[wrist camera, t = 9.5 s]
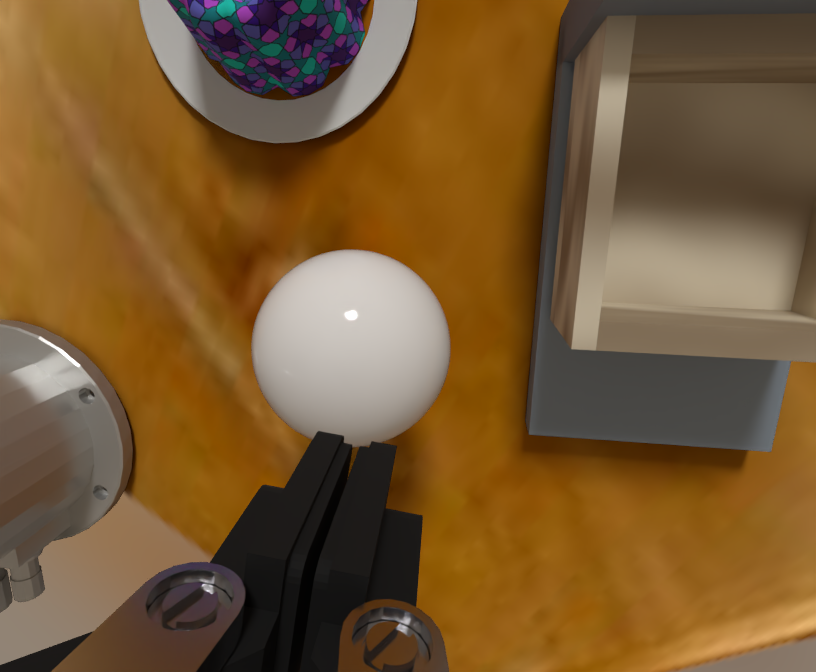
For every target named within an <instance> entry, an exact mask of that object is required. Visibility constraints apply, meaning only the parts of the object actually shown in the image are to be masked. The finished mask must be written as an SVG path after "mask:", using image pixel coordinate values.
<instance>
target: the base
mask: <svg viewBox="0 0 816 672" xmlns="http://www.w3.org/2000/svg"><path fill="white" fill-rule="evenodd" d="M795 13H816V0H569V2H568V4H567V7H566V9H565V11H564V13H563V15H562V17H561V25H560V36H559V47H558V59H557V70H556V81H555V93H554V104H553V115H552V127H551V138H550V149H549V160H548V172H547V183H546V194H545V206H544V217H543V228H542V240H541V251H540V262H539V273H538V285H537V296H536V307H535V319H534V330H533V341H532V353H531V364H530V375H529V386H528V398H527V409H526V420H525V422H526V425H527V429H528V433H529V435H542V436H556V437H570V438H584V439H598V440H612V441H626V442H640V443H654V444H669V445H683V446H697V447H711V448H725V449H739V450H753V451H767V452H771V449H772V445H773V440H774V436H775V431H776V427H777V422H778V417H779V413H780V408H781V404H782V399H783V395H784V390H785V386H786V381H787V377H788V372H789V368H790V363H791V361H782V360H764V359H745V358H726V357H708V356H689V355H671V354H652V353H633V352H615V351H596V350H577V349H571V348H570V347H569V345H568V344H567V342H566V341H565V340H564V338H563V337H562V335H561V334H560V333H559V331H558V330H557V328H556V327H555V325H554V324H553V323H552V321H551V320H550V315H551V305H552V294H553V284H554V273H555V263H556V253H557V242H558V232H559V222H560V211H561V201H562V190H563V180H564V170H565V159H566V149H567V138H568V128H569V118H570V107H571V97H572V87H573V76H574V66H575V59H576V58H577V57H578V55H579V54H580V53H581V51H582V50H583V49H584V47H585V46H586V44H587V43H588V42H589V40H590V39H591V38H592V36H593V35H594V34H595V32H596V31H597V29H598V28H599V27H600V25H601V24H602V23H603V21H604V20H605V19H606V17H607V16H631V15H713V14H795Z"/></svg>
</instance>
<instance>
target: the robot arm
mask: <svg viewBox="0 0 816 672" xmlns="http://www.w3.org/2000/svg"><path fill="white" fill-rule="evenodd" d="M396 448H397V446H394V445H389V444H384V443H379V442H374V441H371V444H370V447H369V448H368V447H363V446H360V447H359V450H358V453H357V456H356V458H355V461H354V464H353V467H352V469H351V472H350V475H349V477H348V472H349V466H350V460H351V454H352V444H347V443H344V436H343V435H337V434H332V433H327V432H322V431H318V432H317V433H316V435H315V436H314V438H313V440H312V442H311V443H310V445H309V447H308V448H307V450H306V452H305V454H304V455H303V457H302V459H301V460H300V462H299V464H298V466H297V467H296V469H295V471H294V472H293V474H292V476H291V478H290V479H289V481H288V483H287V484H286V486H285V488H279V487H274V486H269V485H262V486H261V488H260V489H259V490H258V492H257V493H256V495H255V496H254V498H253V499H252V500H251V502H250V503H249V505H248V506H247V508H246V509H245V511H244V512H243V514H242V515H241V517H240V518H239V520H238V521H237V523H236V524H235V526H234V527H233V529H232V530H231V532H230V533H229V535H228V536H227V538H226V539H225V541H224V542H223V544H222V545H221V547H220V548H219V550H218V551H217V553H216V554H215V556H214V557H213V559H212V560H211V562H210V563H208V562H191V563H186V564H182V565H177V566H173V567H171V568H169V569H166V570H164V571H162V572H159V573H158V574H156V575H155V576H154V577H152V578H151V579H150V580H148V581H147V582H146V583H145V584H143V586H141V587H140V588H139V589H138V590H137V591H136V592H135V593H134V594H133V595H132V596H131V597H130V598H129V599H128V600H127V601H126V602H125V603H123V604H122V605H121V606H120V607H119V608H118V609H117V610H116V611H115V612H114V613H113V614H112V615H111V616H109V617H108V618H107V619H106V620H105V621H104V622H103V623H102V624H101V625H100V626H99V627H98V628H97V629H96V630H95V631H93V632H90V633H88V634H85V635H82V636H79V637H76V638H74V639H71V640H68V641H65V642H63V643H60V644H57V645H54V646H52V647H49V648H47V649H44V650H41V651H38V652H36V653H33V654H30V655H27V656H25V657H22V658H19V659H16V660H13V661H11V662H8V663H5V664H2V665H0V672H449V668H448V662H447V656H446V651H445V645H444V641H443V638H442V635H441V632H440V630H439V628H438V627H437V626H436V624H435V623H434V621H433V620H432V619H431V618H430V617H429V616H428V615H427V614H425V613H424V612H423V611H422V610H420V609H419V608H417V607H416V601H417V588H418V574H419V561H420V547H421V534H422V520H423V516H422V515H417V514H412V513H406V512H401V511H396V510H391V509H386V503H387V497H388V492H389V486H390V481H391V475H392V470H393V465H394V459H395V454H396ZM132 456H133V447H132V438H131V430H130V427H129V423H128V420H127V417H126V414H125V411H124V408H123V406H122V404H121V402H120V400H119V398H118V396H117V394H116V392H115V390H114V388H113V387H112V386H111V384H110V383H109V381H108V380H107V379H106V377H105V376H104V375H103V373H102V372H101V371H100V369H99V368H98V367H97V366H96V365H95V364H94V363H93V362H92V361H91V360H90V359H89V358H88V357H87V356H86V355H85V354H84V353H83V352H81V351H80V350H79V349H77V348H76V347H74V346H73V345H72V344H70V343H69V342H68V341H66V340H65V339H63V338H61V337H59V336H57V335H55V334H53V333H51V332H49V331H47V330H45V329H43V328H41V327H37V326H34V325H31V324H27V323H24V322H21V321H11V320H2V319H0V612H2V611H3V610H5V609H6V608H7V607H8V606H9V605H10V604H11V603H12V592H11V587H10V582H9V577H8V572H7V570H6V569H4V568H9V569H10V572H11V576H10V581H11V585H12V590H13V596H14V600H15V601H18V602H25V601H29V600H31V599H34V598H36V597H37V596H39V595H40V594H41V593H42V592H43V591H44V590H45V587H44V581H43V576H42V570H41V566H40V565H39V562H38V556H39V555H40V554H41V553H42V550H43V548H44V547H45V546H46V545H48V544H49V543H50V542H51V541H55V540H59V539H63V538H67V537H72V536H74V535H76V534H78V533H80V532H82V531H84V530H86V529H88V528H90V527H91V526H92V525H93V524H95V523H96V522H97V521H98V520H100V519H101V518H102V517H103V516H105V515H106V514H107V513H108V511H110V510H111V509H112V507H113V506H114V505H115V504H116V503H117V502H118V500H119V499H120V497H121V495H122V493H123V492H124V490H125V488H126V486H127V483H128V479H129V476H130V473H131V469H132ZM347 479H348V480H347Z"/></svg>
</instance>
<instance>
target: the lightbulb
mask: <svg viewBox="0 0 816 672" xmlns="http://www.w3.org/2000/svg"><path fill="white" fill-rule="evenodd" d="M450 348H451V346H450V334H449V329H448V324H447V320H446V317H445V314H444V312H443V309H442V307H441V305H440V303H439V301H438V299H437V298H436V296H435V294H434V293H433V291H432V290H431V289H430V287H429V286H428V285H427V284H426V283H425V282H424V280H423V279H422V278H421V277H420V276H418V275H417V274H416V273H415V272H414V271H413V270H411V269H410V268H408V267H407V266H406V265H404V264H402V263H401V262H399V261H397V260H395V259H393V258H390V257H388V256H385V255H383V254H379V253H376V252H371V251H365V250H351V249H349V250H337V251H331V252H327V253H323V254H320V255H317V256H315V257H312V258H310V259H308V260H306V261H304V262H302V263H300V264H299V265H297V266H296V267H294V268H293V269H291V270H290V271H289V272H288V273H286V274H285V275H284V276H283V277H282V278H281V279H280V280H279V281H278V282H277V283H276V284H275V286H274V287H273V288H272V289H271V291H270V292H269V294H268V295H267V297H266V298H265V300H264V302H263V304H262V306H261V308H260V310H259V312H258V315H257V318H256V321H255V325H254V329H253V335H252V346H251V351H252V363H253V369H254V373H255V377H256V380H257V382H258V385H259V387H260V390H261V392H262V394H263V396H264V397H265V399H266V401H267V402H268V404H269V405H270V407H271V408H272V409H273V411H274V412H275V413H276V414H277V415H278V416H279V417H280V418H281V419H282V420H283V421H284V422H285V423H286V424H287V425H288V426H290V427H291V428H292V429H294V430H295V431H297V432H298V433H300V434H302V435H303V436H305V437H307V438H310V439H312V440H313V438H314V436H315V435H316V433H317V432H318V431H322V432H327V433H332V434H337V435H343V436H344V443H347V444H352V447H360V446H363V447H364V446H370V444H371V441H374V442H379V443H381V442H384V441H387V440H389V439H392V438H394V437H396V436H398V435H400V434H401V433H403V432H405V431H406V430H408V429H409V428H410V427H412V426H413V425H414V424H415V423H417V422H418V421H419V420H420V419H421V418H422V417H423V416H424V415H425V414H426V413H427V411H428V410H429V409H430V407H431V406H432V405H433V403H434V402H435V400H436V399H437V397H438V395H439V393H440V391H441V389H442V387H443V385H444V382H445V379H446V376H447V373H448V368H449V362H450Z"/></svg>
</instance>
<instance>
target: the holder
mask: <svg viewBox="0 0 816 672" xmlns="http://www.w3.org/2000/svg"><path fill="white" fill-rule="evenodd" d="M550 320H551V321H552V323H553V324H554V325H555V327H556V328H557V330H558V331H559V333H560V334H561V335H562V337H563V338H564V340H565V341H566V342H567V344H568V345H569V347H570V348H571V349H577V350H596V351H615V352H633V353H652V354H671V355H689V356H708V357H726V358H745V359H764V360H782V361H801V362H816V13H795V14H713V15H631V16H607V17H606V19H605V20H604V21H603V23H602V24H601V25H600V27H599V28H598V29H597V31H596V32H595V34H594V35H593V36H592V38H591V39H590V40H589V42H588V43H587V44H586V46H585V47H584V49H583V50H582V51H581V53H580V54H579V55H578V57H577V58H576V59H575V66H574V76H573V87H572V97H571V107H570V118H569V128H568V138H567V149H566V159H565V170H564V180H563V190H562V201H561V211H560V222H559V232H558V242H557V253H556V263H555V273H554V284H553V294H552V305H551V315H550Z"/></svg>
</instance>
